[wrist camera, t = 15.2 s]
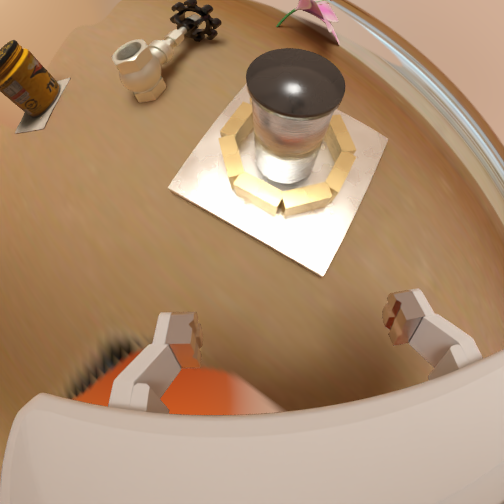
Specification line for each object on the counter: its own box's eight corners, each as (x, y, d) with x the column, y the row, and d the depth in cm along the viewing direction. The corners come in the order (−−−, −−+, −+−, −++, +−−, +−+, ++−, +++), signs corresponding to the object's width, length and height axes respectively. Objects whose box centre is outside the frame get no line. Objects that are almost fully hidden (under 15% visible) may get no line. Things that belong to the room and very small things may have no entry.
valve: (161, 112, 24) (225, 42, 25) (138, 70, 17) (218, 0, 19) (118, 99, 25) (181, 34, 26) (93, 62, 18) (169, -4, 19)
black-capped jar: (299, 197, 21) (323, 130, 12) (240, 167, 21) (226, 90, 12) (326, 148, 21) (357, 71, 12) (271, 121, 22) (274, 39, 13)
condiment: (71, 78, 26) (28, 27, 14) (44, 129, 25) (-13, 82, 13) (40, 86, 26) (-1, 44, 14) (16, 134, 25) (-35, 97, 13)
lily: (309, 76, 25) (369, 23, 17) (225, 16, 22) (268, -46, 13) (333, 49, 30) (378, 11, 22) (268, 1, 26) (305, -42, 18)
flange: (320, 276, 21) (330, 274, 18) (171, 191, 23) (157, 176, 19) (384, 143, 22) (398, 125, 19) (255, 80, 24) (254, 57, 20)
